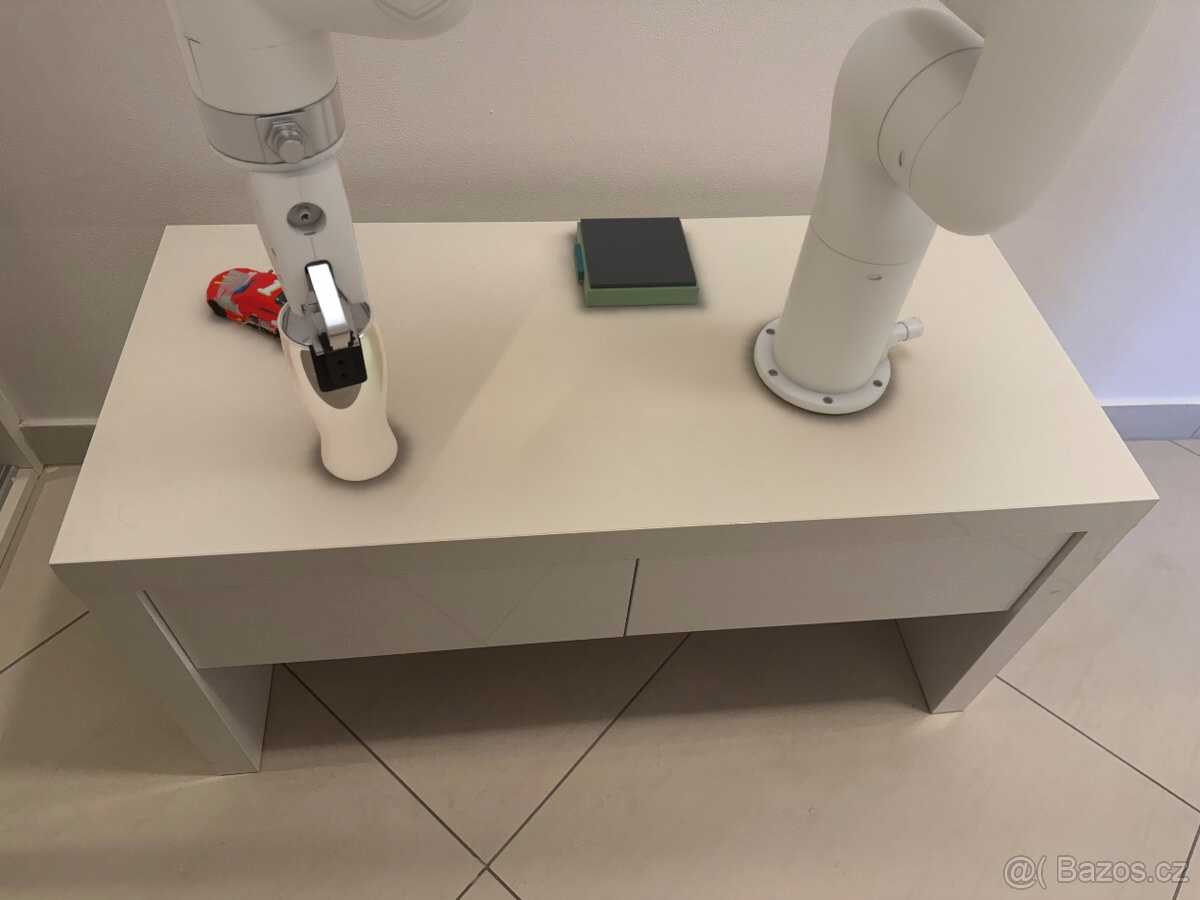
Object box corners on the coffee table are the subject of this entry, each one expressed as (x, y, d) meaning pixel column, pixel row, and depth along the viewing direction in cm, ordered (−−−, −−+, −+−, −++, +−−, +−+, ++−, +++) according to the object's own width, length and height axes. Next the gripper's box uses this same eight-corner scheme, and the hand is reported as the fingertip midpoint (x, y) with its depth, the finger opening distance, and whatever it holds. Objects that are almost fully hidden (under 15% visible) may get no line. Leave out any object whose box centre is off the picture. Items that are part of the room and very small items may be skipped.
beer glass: (385, 493, 68) (355, 359, 57) (302, 476, 69) (255, 340, 57) (414, 429, 73) (391, 292, 61) (336, 414, 73) (299, 276, 62)
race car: (198, 309, 81) (185, 275, 78) (239, 277, 84) (228, 243, 81) (310, 359, 77) (300, 326, 74) (348, 325, 80) (340, 291, 77)
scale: (678, 235, 92) (681, 215, 90) (696, 303, 85) (700, 283, 83) (570, 237, 91) (571, 216, 89) (580, 307, 84) (581, 286, 82)
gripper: (384, 184, 44) (414, 408, 57) (305, 33, 54) (347, 255, 67) (232, 212, 42) (300, 439, 55) (177, 49, 51) (247, 276, 64)
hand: (326, 338), depth 61 cm, fingers open, 9 cm apart
